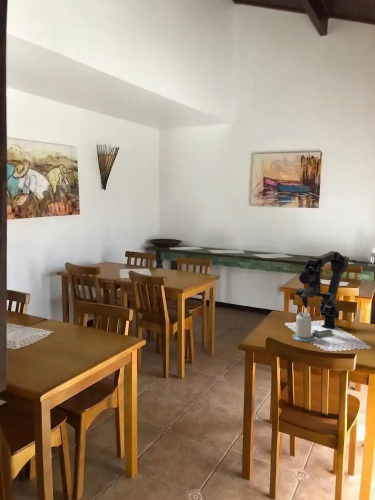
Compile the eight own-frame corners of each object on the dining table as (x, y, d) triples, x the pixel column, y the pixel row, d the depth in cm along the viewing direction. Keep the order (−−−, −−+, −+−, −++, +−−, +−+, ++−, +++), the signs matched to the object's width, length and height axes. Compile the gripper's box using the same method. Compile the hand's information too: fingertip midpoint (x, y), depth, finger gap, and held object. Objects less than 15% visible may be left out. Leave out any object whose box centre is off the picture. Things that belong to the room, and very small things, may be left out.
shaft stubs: (299, 326, 228) (299, 321, 228) (333, 334, 216) (333, 328, 215) (290, 331, 221) (290, 326, 220) (324, 339, 208) (324, 334, 208)
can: (296, 333, 215) (297, 311, 214) (311, 334, 213) (311, 312, 211) (295, 338, 209) (295, 315, 207) (310, 339, 206) (311, 316, 204)
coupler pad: (298, 333, 218) (298, 331, 218) (317, 337, 211) (317, 335, 211) (288, 338, 210) (288, 337, 210) (308, 344, 203) (308, 342, 203)
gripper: (291, 281, 214) (290, 310, 216) (325, 286, 201) (324, 316, 203) (301, 277, 222) (300, 305, 224) (334, 282, 209) (333, 311, 212)
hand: (314, 309), depth 216 cm, fingers open, 9 cm apart
